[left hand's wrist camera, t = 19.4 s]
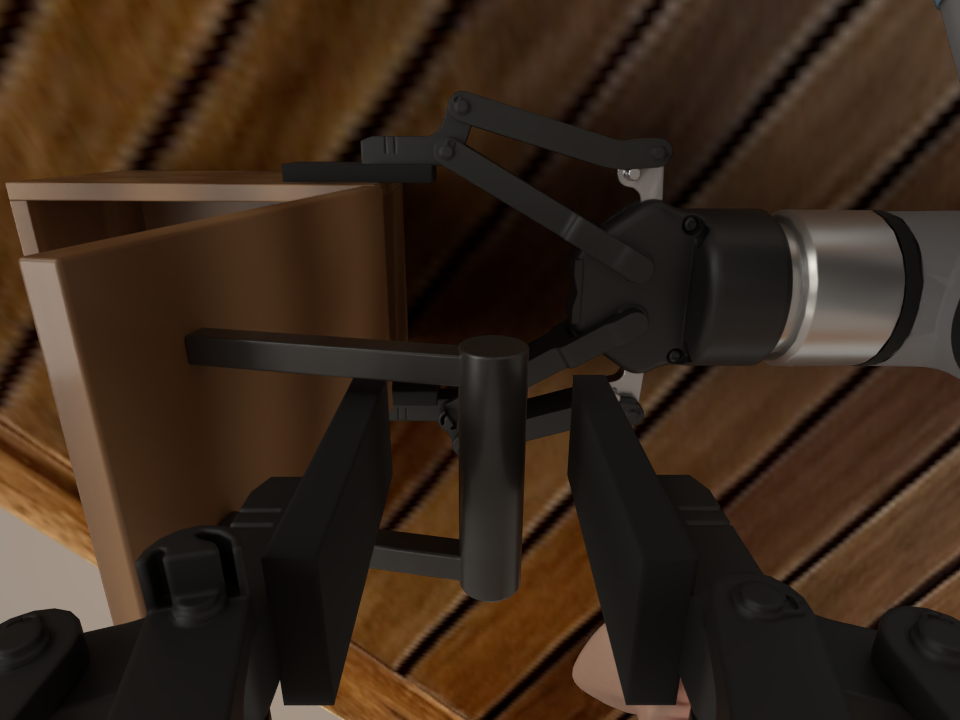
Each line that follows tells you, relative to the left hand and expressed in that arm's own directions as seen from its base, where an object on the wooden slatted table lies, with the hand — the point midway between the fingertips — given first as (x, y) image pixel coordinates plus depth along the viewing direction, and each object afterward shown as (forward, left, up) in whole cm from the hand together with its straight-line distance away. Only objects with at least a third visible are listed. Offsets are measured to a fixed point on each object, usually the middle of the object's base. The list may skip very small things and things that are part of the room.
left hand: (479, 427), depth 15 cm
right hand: (+5, -7, -16) cm, 18 cm away
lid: (+4, -5, -5) cm, 8 cm away
